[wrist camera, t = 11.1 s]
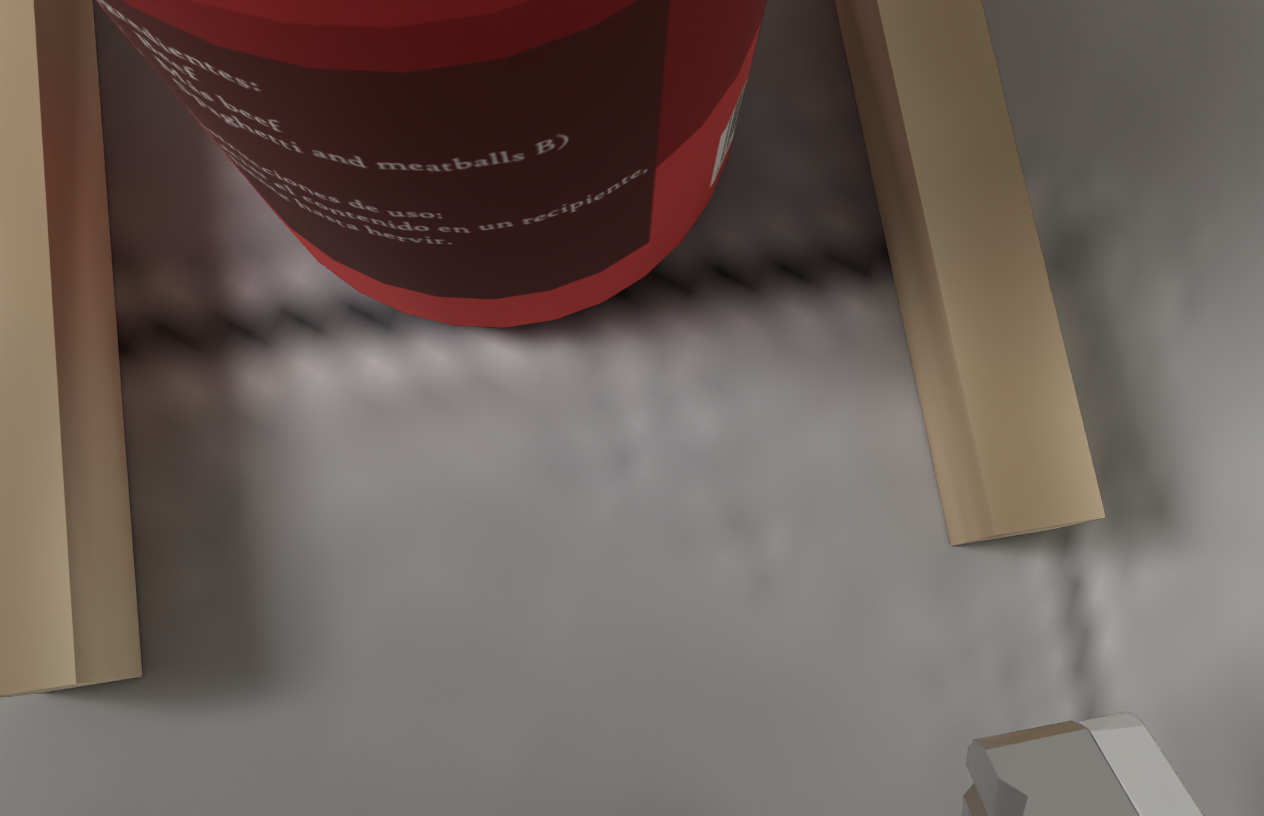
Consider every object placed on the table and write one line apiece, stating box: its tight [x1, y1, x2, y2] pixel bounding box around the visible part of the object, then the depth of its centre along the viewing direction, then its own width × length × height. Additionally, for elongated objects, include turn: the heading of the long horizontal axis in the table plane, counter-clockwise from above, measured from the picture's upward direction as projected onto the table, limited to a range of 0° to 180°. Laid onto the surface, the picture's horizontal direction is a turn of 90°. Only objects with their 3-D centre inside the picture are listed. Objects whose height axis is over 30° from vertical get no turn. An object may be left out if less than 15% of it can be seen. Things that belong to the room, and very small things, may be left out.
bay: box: [0, 0, 1106, 698], centre depth 17 cm, size 15×16×2 cm
